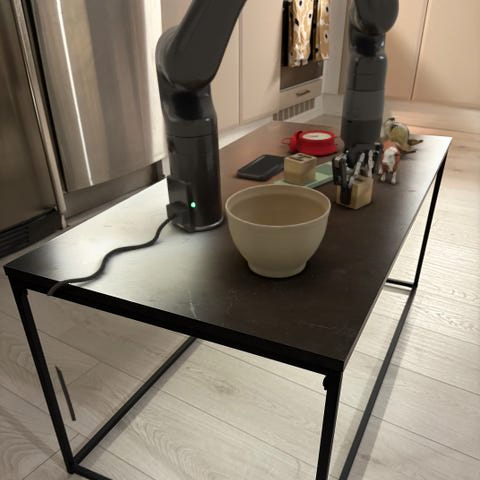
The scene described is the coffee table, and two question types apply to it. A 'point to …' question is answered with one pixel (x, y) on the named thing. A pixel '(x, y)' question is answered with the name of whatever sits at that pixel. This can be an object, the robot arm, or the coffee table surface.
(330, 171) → the word board
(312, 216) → the planter bowl
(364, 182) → the slotted coin box
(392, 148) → the bull figurine
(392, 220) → the coffee table surface
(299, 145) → the alarm clock
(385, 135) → the ceramic sculpture
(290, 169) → the light wooden block
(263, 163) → the phone
